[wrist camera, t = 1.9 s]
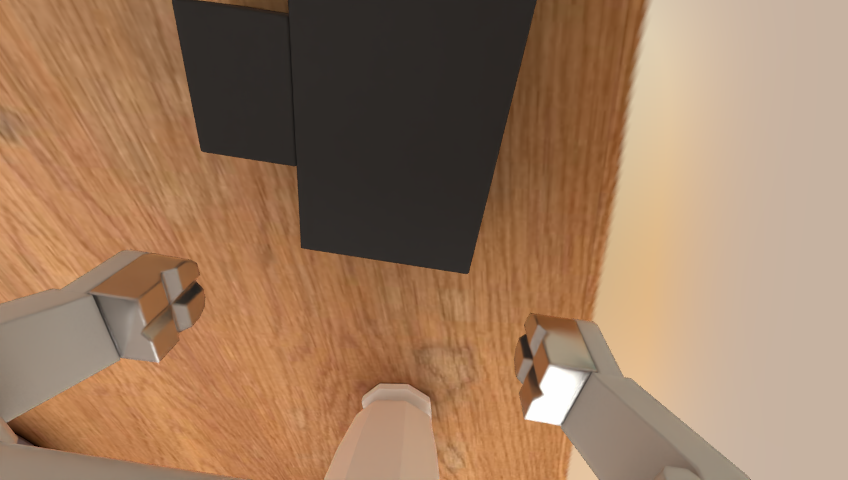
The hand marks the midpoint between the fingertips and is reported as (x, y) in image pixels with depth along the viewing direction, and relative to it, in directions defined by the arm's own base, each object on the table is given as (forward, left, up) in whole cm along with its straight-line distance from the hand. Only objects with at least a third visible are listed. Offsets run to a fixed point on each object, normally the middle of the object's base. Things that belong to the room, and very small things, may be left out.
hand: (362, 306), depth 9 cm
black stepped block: (-4, -1, -7) cm, 8 cm away
